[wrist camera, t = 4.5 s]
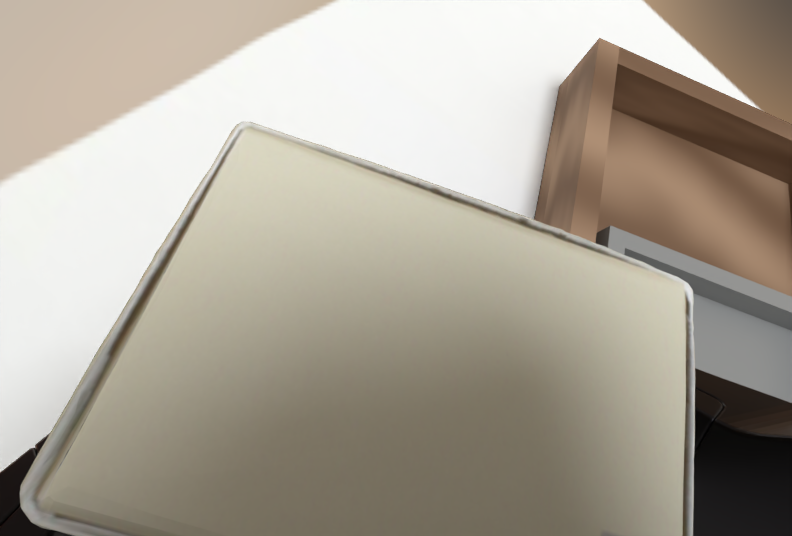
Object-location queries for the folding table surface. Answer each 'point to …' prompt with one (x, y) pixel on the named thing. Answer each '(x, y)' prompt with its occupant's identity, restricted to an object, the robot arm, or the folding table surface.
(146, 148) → the folding table surface
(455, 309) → the skincare box
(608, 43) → the caddy
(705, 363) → the tray
